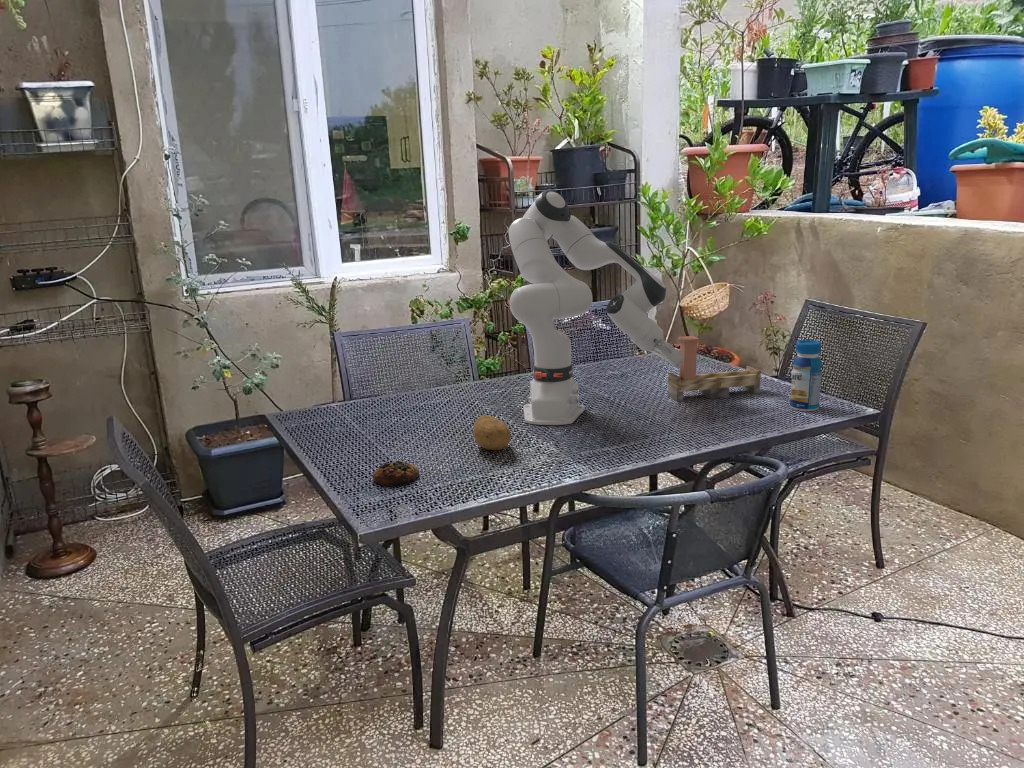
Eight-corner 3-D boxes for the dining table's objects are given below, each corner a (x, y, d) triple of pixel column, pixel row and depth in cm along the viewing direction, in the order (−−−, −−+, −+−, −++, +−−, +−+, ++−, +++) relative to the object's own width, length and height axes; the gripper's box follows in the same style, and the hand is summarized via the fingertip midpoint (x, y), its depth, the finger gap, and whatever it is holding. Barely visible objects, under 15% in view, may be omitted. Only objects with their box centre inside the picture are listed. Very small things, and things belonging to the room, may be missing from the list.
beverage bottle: (822, 412, 216) (827, 345, 210) (792, 412, 217) (796, 345, 212) (815, 403, 224) (820, 338, 218) (786, 403, 225) (790, 338, 220)
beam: (677, 402, 230) (678, 379, 228) (666, 394, 239) (667, 372, 237) (761, 394, 235) (762, 371, 233) (747, 387, 244) (748, 365, 242)
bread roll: (385, 490, 172) (383, 469, 171) (366, 482, 181) (363, 462, 180) (428, 480, 178) (426, 460, 177) (406, 473, 187) (404, 453, 186)
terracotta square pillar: (683, 384, 231) (684, 340, 228) (677, 380, 236) (678, 337, 232) (697, 382, 232) (699, 338, 228) (691, 378, 237) (692, 335, 233)
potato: (484, 460, 188) (483, 430, 186) (466, 443, 201) (465, 415, 199) (520, 453, 192) (519, 424, 190) (500, 437, 205) (499, 410, 202)
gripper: (669, 335, 218) (699, 365, 222) (643, 323, 237) (672, 350, 242) (654, 351, 218) (685, 380, 223) (630, 338, 238) (658, 365, 242)
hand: (678, 365), depth 232 cm, fingers closed
